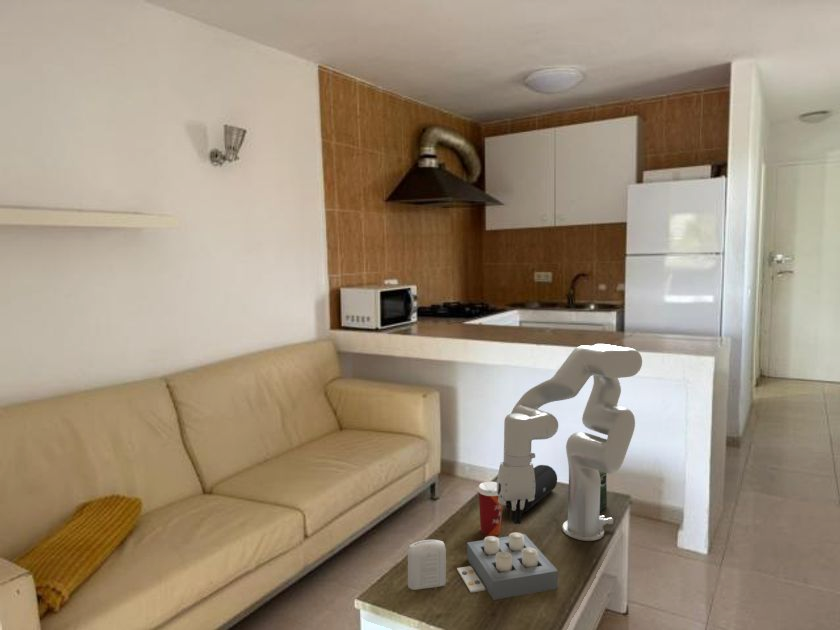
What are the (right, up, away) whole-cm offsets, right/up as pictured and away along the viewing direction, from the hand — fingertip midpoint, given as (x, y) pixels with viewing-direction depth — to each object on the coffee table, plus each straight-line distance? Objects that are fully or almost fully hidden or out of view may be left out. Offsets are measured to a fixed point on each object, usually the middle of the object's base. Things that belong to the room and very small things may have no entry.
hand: (515, 521), depth 160 cm
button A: (0, -9, +1) cm, 9 cm away
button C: (-7, -9, -1) cm, 12 cm away
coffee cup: (-5, -10, +20) cm, 23 cm away
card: (-13, -13, -6) cm, 20 cm away
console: (-2, -13, -3) cm, 14 cm away
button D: (-5, -10, -9) cm, 14 cm away
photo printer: (-25, -14, -8) cm, 30 cm away
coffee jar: (+32, -8, +36) cm, 49 cm away
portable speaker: (+12, -8, +41) cm, 43 cm away
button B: (+3, -10, -7) cm, 12 cm away
